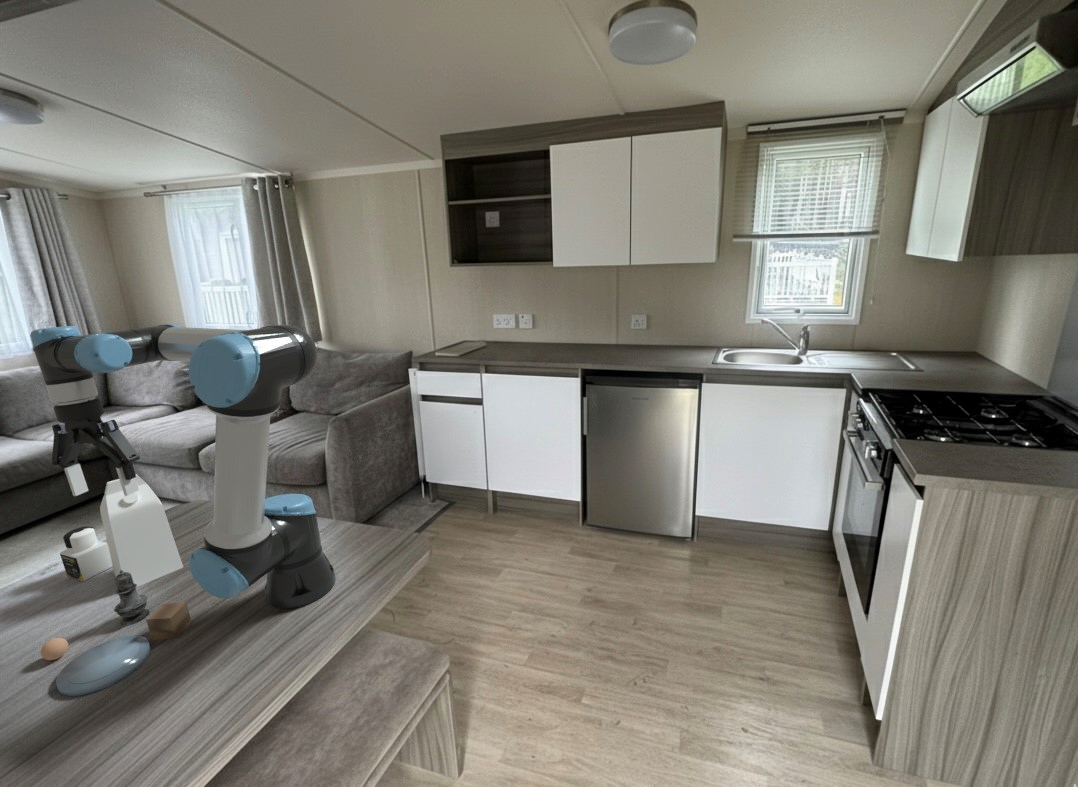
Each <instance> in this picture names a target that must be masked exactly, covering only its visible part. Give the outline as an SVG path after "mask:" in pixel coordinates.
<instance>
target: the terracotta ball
mask: <svg viewBox="0 0 1078 787" xmlns="http://www.w3.org/2000/svg"><path fill="white" fill-rule="evenodd" d="M68 648H69V643H68V641H67V640H66V639H65V638H64V637H63V638H62V637H56V638H55V637H54V638H51V639H49V640H48V641H47V642H45V643H44V644H43V645H42V647H41V649H40V656H41V657H42V658H43V659H44V660H47V661H53V660H58V659H60V658H61V657H63V656H64V655H65V654H66V652H67V651H68Z"/></svg>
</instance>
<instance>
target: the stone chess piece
mask: <svg viewBox="0 0 1078 787" xmlns="http://www.w3.org/2000/svg"><path fill="white" fill-rule="evenodd" d="M119 573H120V574H119V575H117V576H115V578H114V582H115V584H116V588H117V589H116V591H115V593H116V594H117V595H119V596H118V597H119V600H120V602H119V603H118V604H116V606H115V607H114V609H113V610H114V612H115V613H116V614H117V615H119V617H121V619H120V621H119V623H120V625H121V626H131V625H134V624H137V623H139V622H142V621H143V620H144V619H145V620H146V619H147V618H148V617H149V616H150V613H151V612H150V611H151V610H149V609H147V608H146V606H147V603H148V602H147V601H148V599H149V598H148V596H147V595H145V594H139V593H138V590H137V587H136V586H137V584H134V582H133V579H132V576H131V574H130V573H128V572H123V571H122V570H120V572H119Z"/></svg>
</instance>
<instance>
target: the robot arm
mask: <svg viewBox="0 0 1078 787" xmlns="http://www.w3.org/2000/svg"><path fill="white" fill-rule="evenodd" d="M29 336H30V340H31V344H32V351H33V352H34V355H35V358H36V360H37V364H38V367H39V370H40V371H41V376H43V377H42V378H43V380H44V383H45V387H46V389H47V390H46V391H47V394H48V396H49V401H50V403H52V404H55V405H53V407H52V408H53V412H54V414H55V417H56V421H57V422H58V423H57V424H56V423H55V424H53V425H52V426H51V428H52V432H53V443H52V452H51V454H52V455H51V464H52V465H53V466H59V467H60V468H61V469H63V472H64V475H65V478H66V480H67V481H68V484H69V487H70V491H71V492H72V494H71V495H72V496H73V497H77V496H80V495H82V494H85V493H86V492H89V488H88V487H89V486H88V484H87V481H86V479H85V476H84V472H83V470H82V466H81V463H80V462H79V461H78V457H79V455H80V453H81V450H82V448H83V446H84V444H88V445H89V444H92V445H93V446H97V447H98V448H99V449H100V450H101V451H102V452H104V454H106V455H107V456H108V457H109V458H110V459H111V460H112V461H113V462H114V463H115V464H116V465H117V466H116V467H115V470H116V473H117V476H118V479H119V480H120V483H121V486H122V489H123V492H124V496H128V495H130V494H132V493H134V492H136V491H138V490H139V489H138V485H137V482H136V479H135V477H136V474H137V473H136V472H135V469H134V465H133V463H134V462H137V461H138V460H140V459H141V456H140V455H139V453H138V452H137V451H136V450H135V449H134V447H133V446H132V444H131V443H130V442H129V440H128V439H127V437H126V436H125V435H124V434H123V432H122V431H121V430H120V428H119V425H118V423H117V421H116V419H111V420H107V421H104V422H103V420H102V416H103V414H104V413H105V410H104V406H103V404H102V401H101V399H100V398H99V397H97V396H98V394H99V391H98V388H97V385H96V382H95V379H94V375H93V373H95V374H96V373H97V374H98V373H99V374H108V373H110V372H118V371H121V370H123V369H125V368H127V367H132V366H138V365H139V366H140V365H142V364H147V363H153V362H158V361H159V362H161V361H168V362H180V363H181V362H183V363H188V376H189V377H188V378H189V379H188V380H189V382H190V385H191V386H194V389H193V392H194V393H195V395H196V397H197V398H199V399H200V401H202V402H203V403H205V407H206V408H207V410H208V411H210V412H211V413H213V414H214V415H215V442H214V443H215V446H214V448H215V450H214V490H213V491H214V493H213V494H214V496H213V500H214V501H213V519H212V520H211V521H209V523H208V524H207V525H206V526H205V527H204V531H203V532H204V533H203V535H204V536H203V546H201V548H196V550H194V552H192V553H191V554H190V555H189V557H188V568H189V572H190V573H191V575H192V577H193V579H194V580H195V581H196V583H197V584H198V585H199V586H200V587H201V588H202V589H203V590H204V592H205V591H206V592H207V593H208V594H210V595H211V596H214V597H216V598H219V599H223V600H224V599H225V600H226V599H227V600H228V599H231V598H234V597H237V595H239V594H241V593H242V592H243V591H247V590H248V589H249V588H250V587H251V586H253V585H254V584H255V583H257V582H258V581H259V580H261V579H262V578H263V577H265V575H266V583H265V587H264V596H265V601H266V603H267V604H268V606H270V607H273V608H276V609H280V610H281V609H283V610H284V609H285V610H286V609H295V608H299V607H303V606H306V605H309V604H311V603H313V602H315V601H316V600H319V599H320V598H322V597H324V596H325V595H326V594H327V593H329V592H330V590H332V588H333V587H334V585H335V583H336V573H335V572H336V571H335V569H334V567H333V564H331V563H330V560H329V558H328V557H327V556H326V554H325V553H324V551H323V546H322V541H321V536H320V528H319V524H318V519H317V518H318V517H317V511H316V509H315V507H314V506H315V505H314V501H313V499H312V498H311V496H308V495H306V494H302V493H286V494H279V495H273V496H270V497H267V498H266V492H267V475H268V474H267V473H268V460H269V459H268V458H269V445H270V444H269V441H270V429H271V428H270V426H271V425H270V424H271V416H272V415H273V414H275V413H276V412H277V411H278V410H279V409H280V408H281V400H282V399H281V398H282V396H281V395H282V389H284V388H287V387H291V386H293V385H296V384H298V383H301V382H303V381H304V380H305V379H307V378H308V377H309V376H310V375H311V374H312V372H314V369H315V367H316V365H317V362H318V357H319V356H318V348H317V344H316V343H315V341H314V339H313V338H312V337H311V336H310V335H309V334H308V333H307V332H306V331H304V330H303V329H301V328H300V327H298V326H295V325H291V324H290V325H289V324H277V325H265V326H261V327H259V328H255V329H233V328H210V327H209V328H208V327H207V328H206V327H204V328H203V327H183V326H182V325H181V324H177V323H171V324H169V323H166V324H158V325H155V326H147V327H141V328H134V329H125V330H117V331H109V332H101V333H93V334H85V335H84V334H83V335H82V334H81V333H80V330H79V328H78V327H76V326H74V325H65V326H55V327H46V328H37V329H34V330H32V331H31V332H30V334H29Z"/></svg>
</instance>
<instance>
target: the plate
mask: <svg viewBox="0 0 1078 787" xmlns="http://www.w3.org/2000/svg"><path fill="white" fill-rule="evenodd" d="M150 653H151V645H150V642H149V640H148V638H146V637H145V636H142V635H135V634H134V635H125V636H121V637H115V638H113V639H110V640H107V641H105V642H102V643H100V644H98V645H95V646H94V647H91V648H89V649H88V650H86V651H84V652H82V653H80V654H79V655H78V656H75V657H74V658H73V659H72V660H71V661H70V662H68V663H67V664H66V665H65V666H64V667H63V668H62V669H61V670H60V671H59V673H58V675H57V677H56V680H55V685H56V687H57V690H58V692H59V693H60V694H62V695H63V696H67V697H77V696H85V695H89V694H92V693H94V692H95V693H96V692H98V691H101V690H103V689H105V688H108V687H110V686H113V685H114V684H116V683H119V682H120V681H121V680H123V679H124V678H126V677H128V676H130V675H131V674H132V673H134V672H135V671H136V670H137V669H138V668H139V667H140V666H142V664H144V662H145V661H146V660H147V659H148V657H149V655H150Z"/></svg>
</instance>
